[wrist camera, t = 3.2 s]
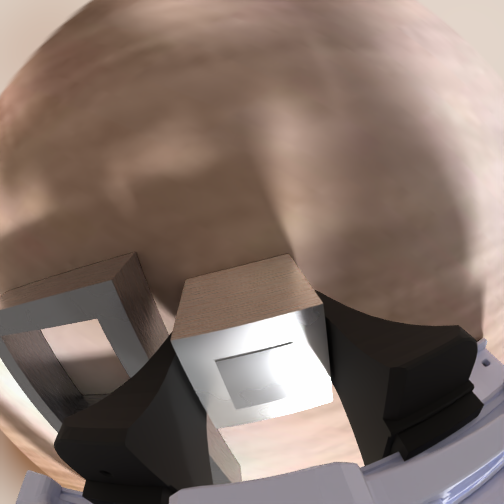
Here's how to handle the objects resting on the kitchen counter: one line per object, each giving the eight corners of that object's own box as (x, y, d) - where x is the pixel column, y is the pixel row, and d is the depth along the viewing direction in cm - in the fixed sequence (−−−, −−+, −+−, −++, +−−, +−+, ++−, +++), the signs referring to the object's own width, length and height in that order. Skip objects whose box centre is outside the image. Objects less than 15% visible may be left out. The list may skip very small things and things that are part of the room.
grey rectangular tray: (135, 251, 11) (111, 279, 8) (240, 465, 17) (243, 496, 14) (7, 291, 11) (-23, 316, 8) (138, 472, 17) (134, 499, 14)
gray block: (288, 253, 12) (323, 304, 8) (303, 336, 14) (332, 401, 9) (185, 279, 12) (170, 341, 8) (215, 358, 13) (216, 429, 9)
